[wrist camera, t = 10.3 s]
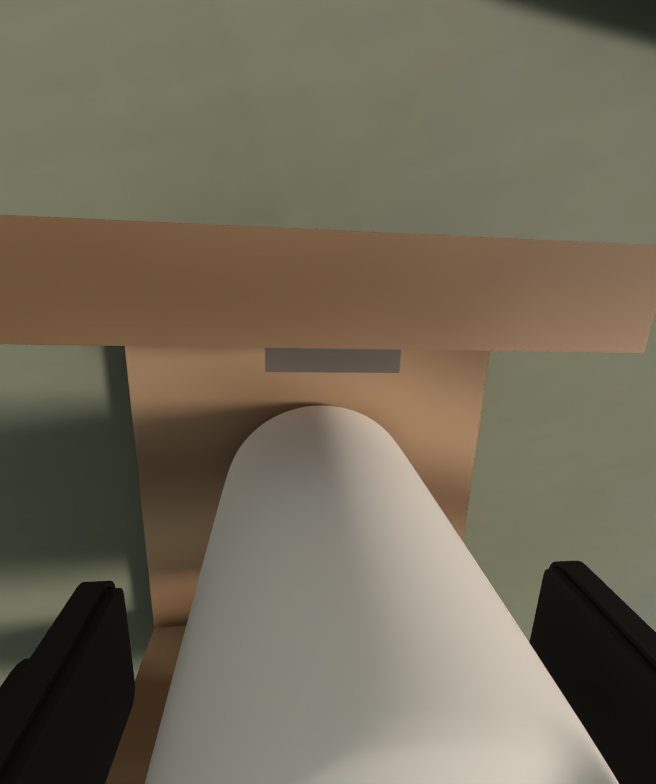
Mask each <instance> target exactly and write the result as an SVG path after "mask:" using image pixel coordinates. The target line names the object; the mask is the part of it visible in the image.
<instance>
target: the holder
mask: <svg viewBox="0 0 656 784" xmlns="http://www.w3.org/2000/svg"><path fill="white" fill-rule="evenodd" d="M655 310H656V245H641V244H619V243H598V242H576V241H555V240H533V239H512V238H490V237H468V236H447V235H425V234H404V233H382V232H361V231H339V230H318V229H296V228H274V227H253V226H231V225H210V224H188V223H167V222H145V221H124V220H102V219H80V218H59V217H37V216H16V215H0V344H24V345H99V346H125V354H126V363H127V373H128V382H129V392H130V401H131V411H132V421H133V430H134V440H135V449H136V459H137V468H138V478H139V488H140V497H141V507H142V516H143V526H144V535H145V545H146V555H147V564H148V574H149V583H150V593H151V603H152V612H153V622H154V630H153V632H152V635H151V638H150V641H149V644H148V646H147V649H146V652H145V655H144V657H143V660H142V663H141V666H140V669H139V671H138V674H137V677H136V680H135V696H134V701H133V706H132V709H131V712H130V715H129V717H128V720H127V723H126V726H125V729H124V732H123V734H122V737H121V740H120V743H119V746H118V749H117V751H116V754H115V757H114V760H113V763H112V766H111V768H110V771H109V774H108V777H107V780H106V783H105V784H145V781H146V777H147V773H148V769H149V765H150V761H151V757H152V754H153V750H154V746H155V742H156V738H157V734H158V731H159V727H160V723H161V719H162V715H163V712H164V708H165V704H166V700H167V696H168V693H169V689H170V685H171V681H172V677H173V674H174V670H175V666H176V662H177V659H178V655H179V651H180V647H181V643H182V640H183V636H184V632H185V628H186V625H187V621H188V617H189V613H190V610H191V606H192V602H193V598H194V595H195V591H196V587H197V583H198V580H199V576H200V572H201V568H202V565H203V561H204V557H205V554H206V550H207V546H208V542H209V539H210V535H211V531H212V528H213V524H214V520H215V517H216V513H217V509H218V506H219V502H220V498H221V495H222V491H223V488H224V484H225V481H226V477H227V474H228V471H229V468H230V465H231V463H232V461H233V459H234V457H235V455H236V453H237V451H238V450H239V448H240V447H241V445H242V444H243V443H244V441H245V440H246V439H247V438H248V437H249V436H250V435H251V434H252V433H253V432H254V431H255V430H256V429H257V428H258V427H260V426H261V425H262V424H264V423H265V422H267V421H268V420H270V419H272V418H274V417H276V416H278V415H280V414H282V413H285V412H287V411H290V410H294V409H297V408H302V407H308V406H336V407H342V408H346V409H350V410H353V411H356V412H358V413H361V414H363V415H365V416H367V417H369V418H370V419H372V420H373V421H375V422H376V423H378V424H379V425H380V426H381V427H383V428H384V429H385V430H386V431H387V432H388V433H389V434H390V436H391V437H392V438H393V439H394V440H395V442H396V443H397V444H398V446H399V447H400V449H401V450H402V451H403V453H404V454H405V456H406V457H407V459H408V460H409V462H410V463H411V465H412V466H413V468H414V469H415V471H416V472H417V474H418V475H419V477H420V478H421V480H422V481H423V483H424V484H425V486H426V487H427V489H428V490H429V492H430V493H431V495H432V496H433V498H434V499H435V501H436V502H437V504H438V505H439V507H440V508H441V510H442V511H443V513H444V514H445V516H446V517H447V519H448V520H449V522H450V523H451V525H452V526H453V528H454V529H455V531H456V532H457V534H458V535H459V537H460V538H461V540H462V541H463V537H464V530H465V523H466V516H467V509H468V502H469V495H470V488H471V481H472V474H473V467H474V460H475V453H476V446H477V439H478V432H479V425H480V418H481V411H482V404H483V397H484V390H485V383H486V376H487V369H488V362H489V355H490V351H544V352H618V353H645V350H646V346H647V342H648V338H649V334H650V330H651V326H652V322H653V318H654V314H655Z"/></svg>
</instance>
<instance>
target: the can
mask: <svg viewBox="0 0 656 784" xmlns="http://www.w3.org/2000/svg"><path fill="white" fill-rule="evenodd" d="M145 784H619V783H618V781H617V779H616V777H615V776H614V774H613V773H612V771H611V769H610V768H609V766H608V765H607V763H606V761H605V760H604V758H603V757H602V755H601V753H600V752H599V750H598V749H597V747H596V745H595V744H594V742H593V741H592V739H591V737H590V736H589V734H588V733H587V731H586V729H585V728H584V726H583V725H582V723H581V722H580V720H579V718H578V717H577V715H576V714H575V712H574V711H573V709H572V708H571V706H570V705H569V703H568V701H567V700H566V698H565V697H564V695H563V694H562V692H561V691H560V689H559V688H558V686H557V685H556V683H555V681H554V680H553V678H552V677H551V675H550V674H549V672H548V671H547V669H546V668H545V666H544V665H543V663H542V661H541V660H540V658H539V657H538V655H537V654H536V652H535V651H534V649H533V648H532V646H531V645H530V643H529V642H528V640H527V639H526V637H525V635H524V634H523V632H522V631H521V629H520V628H519V626H518V625H517V623H516V622H515V620H514V619H513V617H512V616H511V614H510V613H509V611H508V610H507V608H506V607H505V605H504V604H503V602H502V600H501V599H500V597H499V596H498V594H497V593H496V591H495V590H494V588H493V587H492V585H491V584H490V582H489V581H488V579H487V578H486V576H485V575H484V573H483V572H482V570H481V569H480V567H479V566H478V564H477V563H476V561H475V559H474V558H473V556H472V555H471V553H470V552H469V550H468V549H467V547H466V546H465V544H464V543H463V541H462V540H461V538H460V537H459V535H458V534H457V532H456V531H455V529H454V528H453V526H452V525H451V523H450V522H449V520H448V519H447V517H446V516H445V514H444V513H443V511H442V510H441V508H440V507H439V505H438V504H437V502H436V501H435V499H434V498H433V496H432V495H431V493H430V492H429V490H428V489H427V487H426V486H425V484H424V483H423V481H422V480H421V478H420V477H419V475H418V474H417V472H416V471H415V469H414V468H413V466H412V465H411V463H410V462H409V460H408V459H407V457H406V456H405V454H404V453H403V451H402V450H401V449H400V447H399V446H398V444H397V443H396V442H395V440H394V439H393V438H392V437H391V436H390V434H389V433H388V432H387V431H386V430H385V429H384V428H383V427H381V426H380V425H379V424H378V423H376V422H375V421H373V420H372V419H370V418H369V417H367V416H365V415H363V414H361V413H358V412H356V411H353V410H350V409H346V408H342V407H336V406H308V407H302V408H297V409H294V410H290V411H287V412H285V413H282V414H280V415H278V416H276V417H274V418H272V419H270V420H268V421H267V422H265V423H264V424H262V425H261V426H260V427H258V428H257V429H256V430H255V431H254V432H253V433H252V434H251V435H250V436H249V437H248V438H247V439H246V440H245V441H244V443H243V444H242V445H241V447H240V448H239V450H238V451H237V453H236V455H235V457H234V459H233V461H232V463H231V465H230V468H229V471H228V474H227V477H226V481H225V484H224V488H223V491H222V495H221V498H220V502H219V506H218V509H217V513H216V517H215V520H214V524H213V528H212V531H211V535H210V539H209V542H208V546H207V550H206V554H205V557H204V561H203V565H202V568H201V572H200V576H199V580H198V583H197V587H196V591H195V595H194V598H193V602H192V606H191V610H190V613H189V617H188V621H187V625H186V628H185V632H184V636H183V640H182V643H181V647H180V651H179V655H178V659H177V662H176V666H175V670H174V674H173V677H172V681H171V685H170V689H169V693H168V696H167V700H166V704H165V708H164V712H163V715H162V719H161V723H160V727H159V731H158V734H157V738H156V742H155V746H154V750H153V754H152V757H151V761H150V765H149V769H148V773H147V777H146V781H145Z"/></svg>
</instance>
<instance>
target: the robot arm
mask: <svg viewBox="0 0 656 784" xmlns="http://www.w3.org/2000/svg"><path fill="white" fill-rule="evenodd" d="M530 645H531V646H532V648H533V649H534V651H535V652H536V654H537V655H538V657H539V658H540V660H541V661H542V663H543V665H544V666H545V668H546V669H547V671H548V672H549V674H550V675H551V677H552V678H553V680H554V681H555V683H556V685H557V686H558V688H559V689H560V691H561V692H562V694H563V695H564V697H565V698H566V700H567V701H568V703H569V705H570V706H571V708H572V709H573V711H574V712H575V714H576V715H577V717H578V718H579V720H580V722H581V723H582V725H583V726H584V728H585V729H586V731H587V733H588V734H589V736H590V737H591V739H592V741H593V742H594V744H595V745H596V747H597V749H598V750H599V752H600V753H601V755H602V757H603V758H604V760H605V761H606V763H607V765H608V766H609V768H610V769H611V771H612V773H613V774H614V776H615V777H616V779H617V781H618V783H619V784H656V632H655V631H654V630H653V629H652V628H651V627H649V626H648V625H647V624H646V623H645V622H644V621H643V620H642V619H641V618H640V617H639V616H638V615H637V614H636V613H635V612H634V611H633V610H632V609H631V608H630V607H629V606H628V605H627V604H626V603H625V602H624V601H622V600H621V599H620V598H619V597H618V596H617V595H616V594H615V593H614V592H613V591H612V590H611V589H610V588H609V587H608V586H607V585H606V584H605V583H604V582H603V581H602V580H601V579H600V578H599V577H598V576H597V575H595V574H594V573H593V572H592V571H591V570H590V569H589V568H588V567H587V566H586V565H585V564H584V563H582V562H580V561H559V562H553V563H552V564H551V565H550V567H549V569H546V570H545V572H544V575H543V580H542V585H541V590H540V595H539V599H538V604H537V609H536V614H535V619H534V624H533V628H532V633H531V638H530ZM134 696H135V681H134V673H133V665H132V656H131V648H130V640H129V632H128V624H127V616H126V608H125V600H124V593H123V590H122V588H115V584H114V583H113V581H97V582H83V583H81V584H80V585H79V586H78V587H77V588H76V590H75V591H74V593H73V594H72V596H71V597H70V599H69V600H68V602H67V603H66V605H65V606H64V608H63V609H62V611H61V612H60V614H59V615H58V617H57V618H56V620H55V621H54V623H53V624H52V626H51V627H50V629H49V630H48V632H47V633H46V635H45V636H44V638H43V639H42V641H41V642H40V644H39V645H38V647H37V648H36V650H35V651H34V653H33V654H32V656H31V657H30V659H24V660H22V661H21V662H20V663H18V664H17V665H16V666H15V668H14V669H13V670H12V671H11V672H10V674H9V675H8V677H7V678H6V680H5V681H4V682H3V684H2V685H1V687H0V784H105V783H106V780H107V777H108V774H109V771H110V768H111V766H112V763H113V760H114V757H115V754H116V751H117V749H118V746H119V743H120V740H121V737H122V734H123V732H124V729H125V726H126V723H127V720H128V717H129V715H130V712H131V709H132V706H133V701H134Z"/></svg>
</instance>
